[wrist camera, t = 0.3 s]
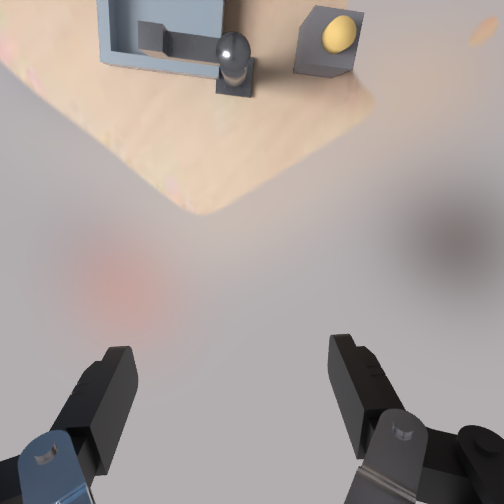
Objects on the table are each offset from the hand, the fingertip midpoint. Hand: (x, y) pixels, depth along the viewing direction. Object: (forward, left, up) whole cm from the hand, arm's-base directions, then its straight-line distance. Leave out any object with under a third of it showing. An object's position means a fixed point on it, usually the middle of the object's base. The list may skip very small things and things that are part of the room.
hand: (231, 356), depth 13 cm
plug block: (-16, +7, -27) cm, 32 cm away
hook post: (-13, -3, -27) cm, 30 cm away
